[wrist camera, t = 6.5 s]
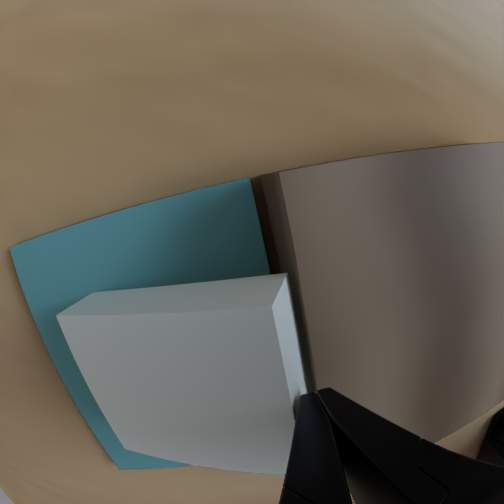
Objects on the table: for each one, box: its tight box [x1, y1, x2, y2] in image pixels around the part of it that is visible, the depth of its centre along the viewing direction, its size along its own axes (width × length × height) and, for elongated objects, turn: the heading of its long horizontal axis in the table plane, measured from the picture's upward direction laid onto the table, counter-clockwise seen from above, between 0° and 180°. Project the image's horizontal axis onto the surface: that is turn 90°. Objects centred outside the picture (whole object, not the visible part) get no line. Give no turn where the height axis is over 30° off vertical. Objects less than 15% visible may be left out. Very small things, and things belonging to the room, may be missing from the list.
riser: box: [260, 142, 504, 443], centre depth 11 cm, size 10×12×4 cm
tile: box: [56, 273, 308, 475], centre depth 9 cm, size 7×6×2 cm
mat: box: [9, 178, 271, 469], centre depth 12 cm, size 10×12×1 cm
